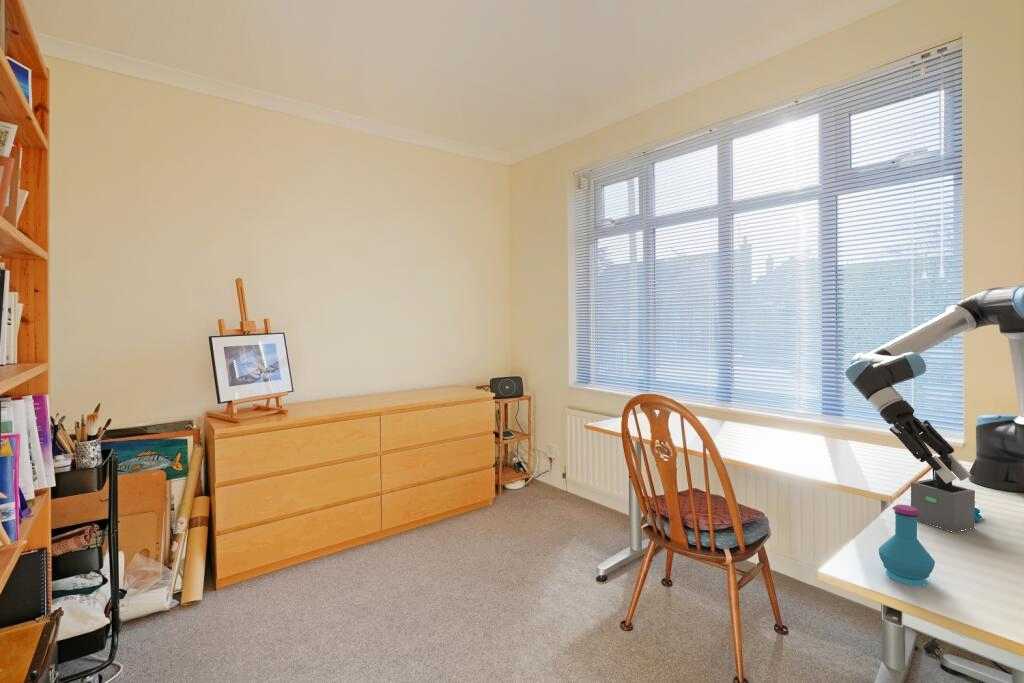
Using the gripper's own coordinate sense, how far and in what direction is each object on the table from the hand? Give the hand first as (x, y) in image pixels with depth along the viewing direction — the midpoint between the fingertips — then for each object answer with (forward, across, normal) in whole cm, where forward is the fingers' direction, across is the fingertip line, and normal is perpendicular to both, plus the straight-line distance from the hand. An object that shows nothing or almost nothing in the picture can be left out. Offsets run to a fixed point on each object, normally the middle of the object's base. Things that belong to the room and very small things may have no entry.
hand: (958, 479), depth 123 cm
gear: (+6, -10, -13) cm, 17 cm away
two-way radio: (+1, 0, -7) cm, 7 cm away
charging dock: (+7, 0, -12) cm, 14 cm away
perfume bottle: (+17, +38, -1) cm, 42 cm away
